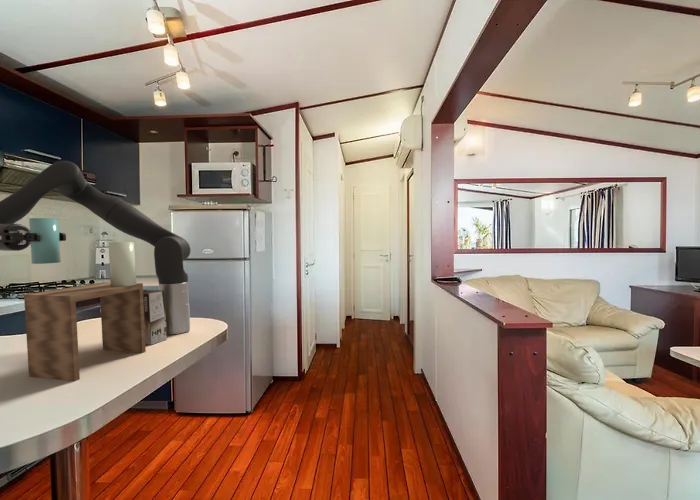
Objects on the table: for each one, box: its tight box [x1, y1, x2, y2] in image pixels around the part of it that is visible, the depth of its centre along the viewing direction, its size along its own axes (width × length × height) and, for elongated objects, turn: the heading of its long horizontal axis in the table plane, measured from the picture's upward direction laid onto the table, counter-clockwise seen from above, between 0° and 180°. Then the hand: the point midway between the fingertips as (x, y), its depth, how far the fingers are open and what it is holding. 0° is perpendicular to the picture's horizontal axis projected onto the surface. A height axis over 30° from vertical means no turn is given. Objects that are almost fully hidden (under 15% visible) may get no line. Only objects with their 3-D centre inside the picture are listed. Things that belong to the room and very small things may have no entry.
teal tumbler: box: [28, 217, 61, 265], centre depth 96 cm, size 6×6×12 cm
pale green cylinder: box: [108, 241, 137, 287], centre depth 99 cm, size 6×6×12 cm
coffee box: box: [143, 289, 168, 345], centre depth 113 cm, size 9×6×16 cm
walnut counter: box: [23, 281, 147, 382], centre depth 94 cm, size 14×21×20 cm, turn 167°
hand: (52, 237), depth 96 cm, fingers closed on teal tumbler, 6 cm apart
